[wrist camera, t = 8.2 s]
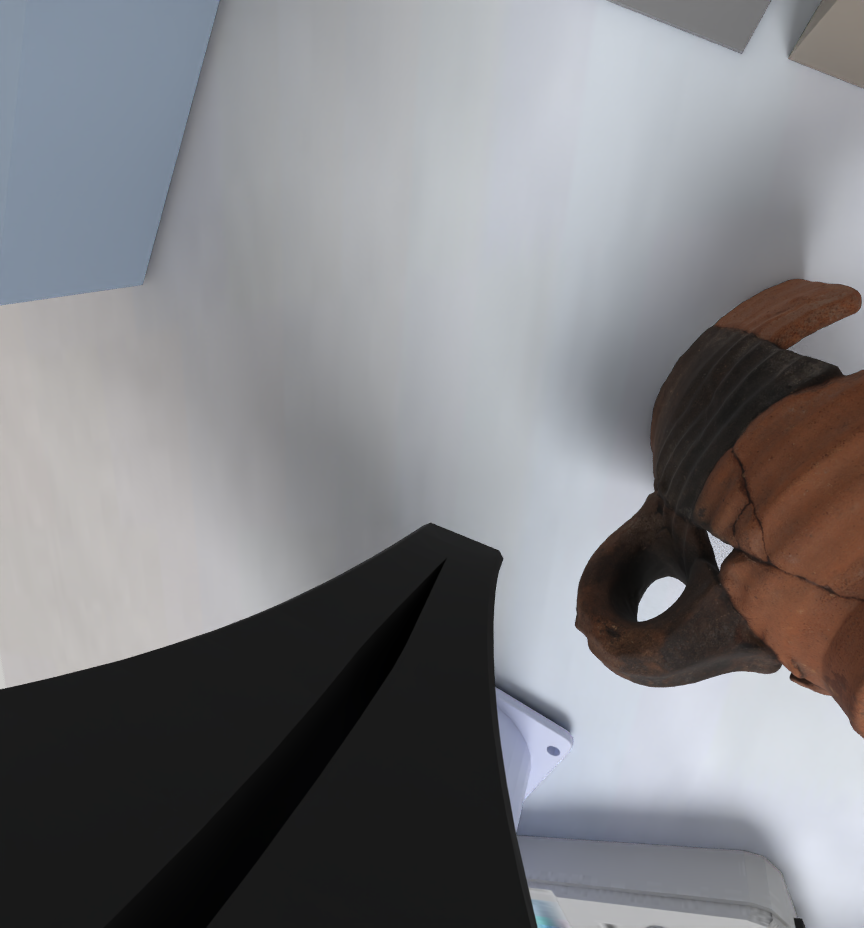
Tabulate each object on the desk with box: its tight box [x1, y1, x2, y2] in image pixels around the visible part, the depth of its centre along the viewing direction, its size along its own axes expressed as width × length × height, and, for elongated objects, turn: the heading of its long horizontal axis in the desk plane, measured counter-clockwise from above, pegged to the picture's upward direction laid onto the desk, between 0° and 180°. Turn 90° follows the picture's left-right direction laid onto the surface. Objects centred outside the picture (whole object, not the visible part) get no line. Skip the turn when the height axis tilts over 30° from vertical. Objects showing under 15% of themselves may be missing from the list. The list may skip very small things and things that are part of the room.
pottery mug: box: [575, 279, 864, 738], centre depth 13 cm, size 12×10×8 cm
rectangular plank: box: [0, 0, 220, 305], centre depth 15 cm, size 12×2×5 cm, turn 147°
